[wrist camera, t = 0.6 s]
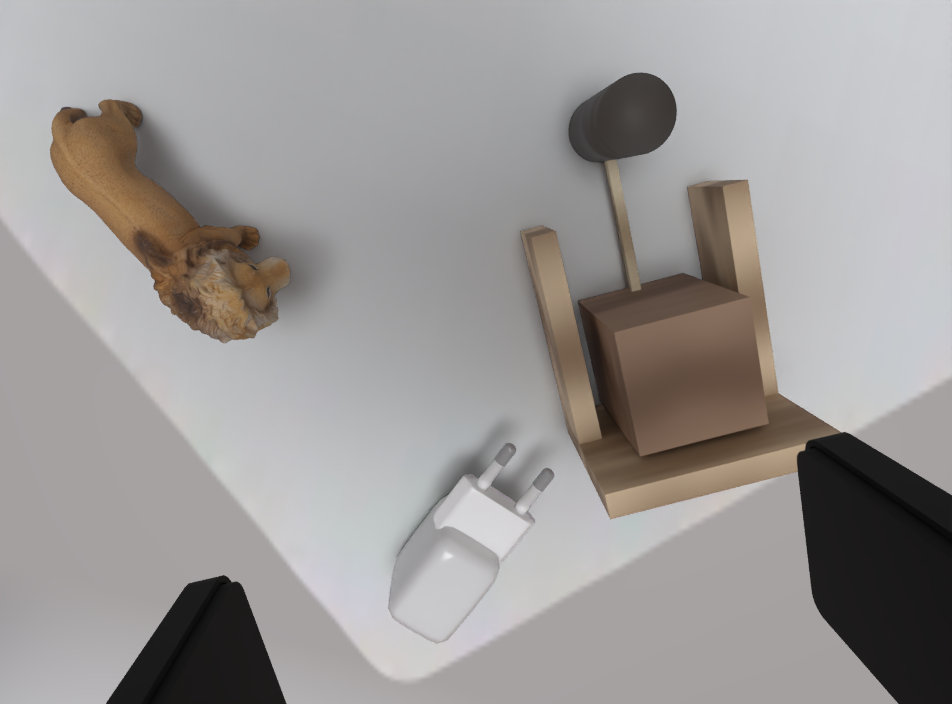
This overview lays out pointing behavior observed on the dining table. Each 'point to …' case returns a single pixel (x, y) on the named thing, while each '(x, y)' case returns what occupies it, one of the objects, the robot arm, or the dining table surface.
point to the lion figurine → (166, 228)
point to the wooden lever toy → (662, 305)
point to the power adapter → (459, 551)
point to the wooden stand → (697, 464)
